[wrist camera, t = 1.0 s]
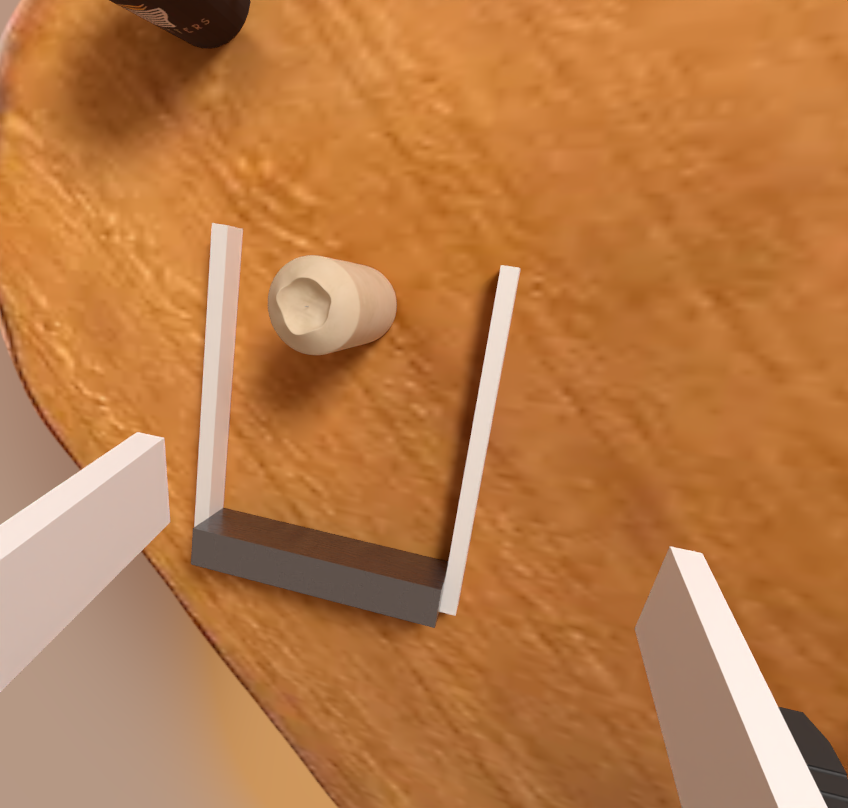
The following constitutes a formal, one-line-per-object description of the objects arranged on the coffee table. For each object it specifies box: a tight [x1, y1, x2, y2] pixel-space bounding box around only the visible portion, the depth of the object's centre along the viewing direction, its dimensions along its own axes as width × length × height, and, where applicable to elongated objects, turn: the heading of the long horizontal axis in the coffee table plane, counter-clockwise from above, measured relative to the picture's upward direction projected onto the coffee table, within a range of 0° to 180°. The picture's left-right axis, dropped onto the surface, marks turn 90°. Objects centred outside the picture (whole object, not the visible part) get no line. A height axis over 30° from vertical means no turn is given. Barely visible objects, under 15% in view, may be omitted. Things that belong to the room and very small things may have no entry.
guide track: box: [191, 223, 520, 628], centre depth 38 cm, size 25×21×4 cm
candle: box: [268, 255, 397, 355], centre depth 33 cm, size 6×6×10 cm
